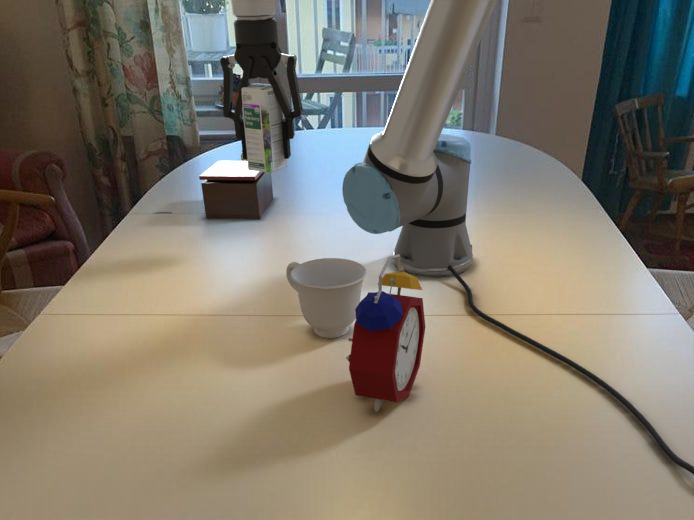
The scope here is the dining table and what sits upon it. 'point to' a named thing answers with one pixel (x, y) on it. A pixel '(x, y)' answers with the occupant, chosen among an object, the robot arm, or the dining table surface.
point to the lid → (230, 171)
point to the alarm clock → (387, 339)
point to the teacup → (328, 293)
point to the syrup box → (263, 128)
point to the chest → (237, 197)
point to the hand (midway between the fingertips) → (267, 156)
